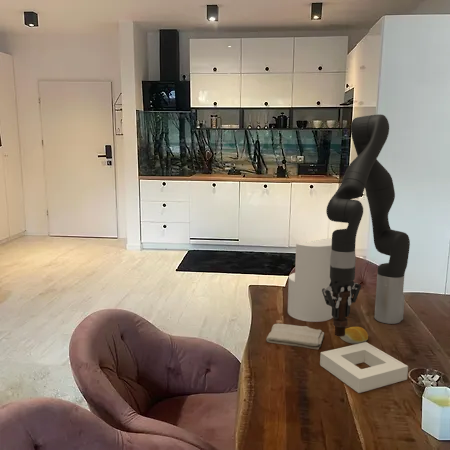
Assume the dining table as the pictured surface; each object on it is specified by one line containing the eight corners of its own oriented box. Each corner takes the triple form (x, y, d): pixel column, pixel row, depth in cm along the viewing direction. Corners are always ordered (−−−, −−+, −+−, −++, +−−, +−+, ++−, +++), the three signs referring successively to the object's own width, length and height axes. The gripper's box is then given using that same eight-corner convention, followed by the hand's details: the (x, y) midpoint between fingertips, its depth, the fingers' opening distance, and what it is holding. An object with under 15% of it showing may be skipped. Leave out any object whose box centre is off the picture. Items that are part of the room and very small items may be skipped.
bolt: (348, 339, 148) (350, 293, 145) (331, 338, 149) (333, 292, 146) (347, 332, 153) (349, 287, 150) (331, 330, 154) (333, 286, 151)
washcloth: (320, 351, 151) (321, 342, 150) (265, 344, 156) (265, 335, 156) (324, 336, 162) (325, 327, 162) (272, 330, 167) (272, 321, 167)
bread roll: (372, 340, 159) (373, 328, 158) (353, 346, 154) (354, 335, 153) (353, 331, 166) (354, 320, 165) (334, 337, 161) (335, 326, 160)
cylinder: (343, 315, 180) (347, 242, 174) (310, 325, 170) (313, 248, 165) (311, 301, 194) (313, 234, 188) (278, 310, 184) (280, 239, 179)
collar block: (365, 354, 148) (366, 341, 148) (407, 379, 133) (408, 366, 132) (320, 365, 141) (320, 352, 140) (358, 393, 126) (359, 379, 125)
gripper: (352, 258, 153) (350, 309, 156) (316, 263, 147) (314, 316, 150) (369, 264, 146) (366, 317, 149) (331, 270, 140) (329, 325, 143)
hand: (340, 316), depth 150 cm, fingers closed on bolt, 3 cm apart
